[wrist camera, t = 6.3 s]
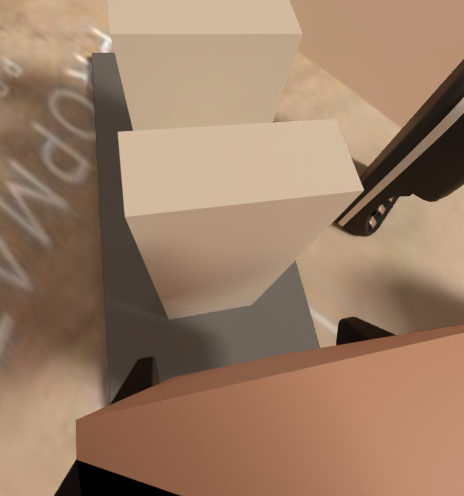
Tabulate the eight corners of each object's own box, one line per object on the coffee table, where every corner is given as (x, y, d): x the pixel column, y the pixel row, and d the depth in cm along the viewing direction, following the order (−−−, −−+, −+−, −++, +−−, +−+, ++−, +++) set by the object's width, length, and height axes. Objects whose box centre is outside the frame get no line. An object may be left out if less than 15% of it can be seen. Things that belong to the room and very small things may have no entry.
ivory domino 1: (235, 231, 20) (302, 34, 8) (159, 241, 19) (110, 33, 7) (230, 205, 21) (284, -13, 9) (156, 213, 20) (106, -18, 8)
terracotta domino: (285, 399, 14) (774, 553, 2) (178, 425, 13) (83, 905, 1) (275, 355, 15) (614, 299, 3) (172, 377, 14) (75, 418, 2)
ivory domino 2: (251, 305, 19) (364, 190, 7) (168, 319, 18) (125, 216, 6) (244, 274, 19) (335, 118, 7) (164, 286, 18) (117, 131, 6)
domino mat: (340, 435, 17) (345, 438, 17) (118, 497, 15) (115, 502, 14) (235, 57, 27) (236, 51, 27) (93, 60, 25) (91, 53, 24)
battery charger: (370, 253, 22) (540, 145, 11) (326, 221, 22) (449, 88, 12) (409, 191, 24) (579, 56, 14) (370, 164, 25) (503, 12, 14)
